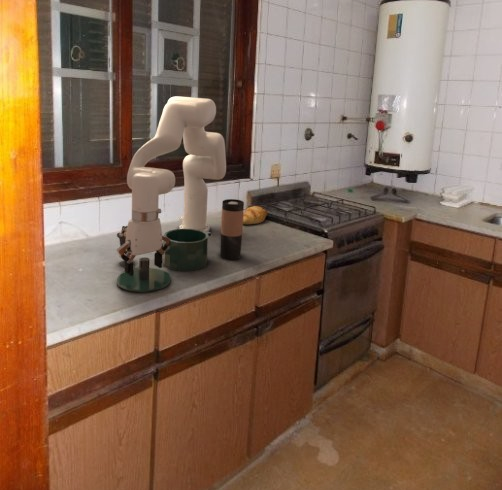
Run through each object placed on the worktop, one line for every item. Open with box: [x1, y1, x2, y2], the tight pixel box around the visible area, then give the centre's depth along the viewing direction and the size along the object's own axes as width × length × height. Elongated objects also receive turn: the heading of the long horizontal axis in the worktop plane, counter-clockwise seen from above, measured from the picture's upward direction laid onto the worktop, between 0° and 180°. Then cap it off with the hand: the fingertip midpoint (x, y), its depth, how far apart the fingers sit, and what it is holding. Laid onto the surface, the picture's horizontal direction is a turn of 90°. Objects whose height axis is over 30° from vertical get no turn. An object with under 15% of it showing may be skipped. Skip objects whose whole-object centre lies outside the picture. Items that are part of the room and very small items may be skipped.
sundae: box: [116, 225, 136, 268], centre depth 142 cm, size 7×7×15 cm
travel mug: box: [219, 198, 245, 261], centre depth 154 cm, size 8×8×20 cm
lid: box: [116, 257, 172, 293], centre depth 130 cm, size 16×16×7 cm
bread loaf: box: [243, 205, 268, 225], centre depth 200 cm, size 21×10×8 cm, turn 150°
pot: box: [162, 228, 212, 272], centre depth 147 cm, size 15×20×10 cm
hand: (144, 270), depth 131 cm, fingers open, 9 cm apart
